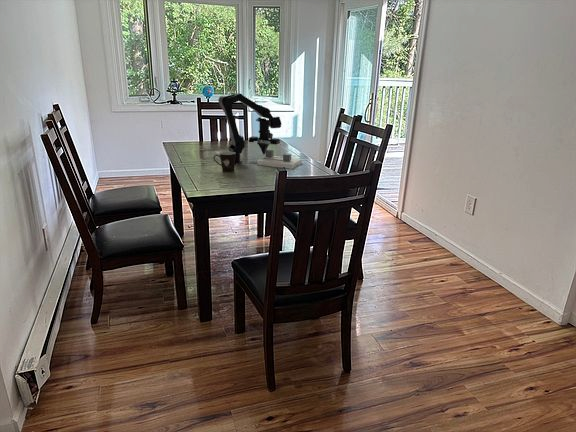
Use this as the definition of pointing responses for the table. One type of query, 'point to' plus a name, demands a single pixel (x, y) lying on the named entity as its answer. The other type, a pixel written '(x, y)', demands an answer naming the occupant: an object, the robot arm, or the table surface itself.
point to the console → (279, 162)
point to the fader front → (287, 157)
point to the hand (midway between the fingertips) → (264, 154)
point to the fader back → (269, 153)
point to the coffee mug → (227, 161)
